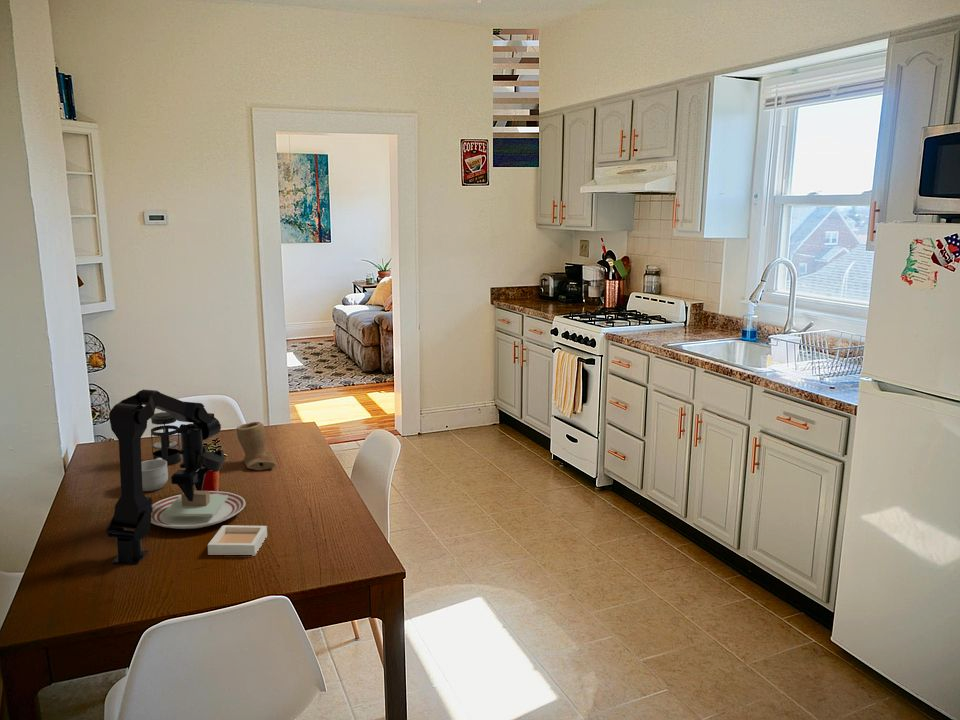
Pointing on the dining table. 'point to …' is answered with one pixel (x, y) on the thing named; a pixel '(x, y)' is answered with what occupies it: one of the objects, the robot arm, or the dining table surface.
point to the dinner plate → (191, 522)
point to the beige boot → (254, 446)
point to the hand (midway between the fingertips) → (195, 496)
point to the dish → (237, 540)
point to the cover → (196, 505)
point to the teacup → (154, 474)
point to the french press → (165, 438)
